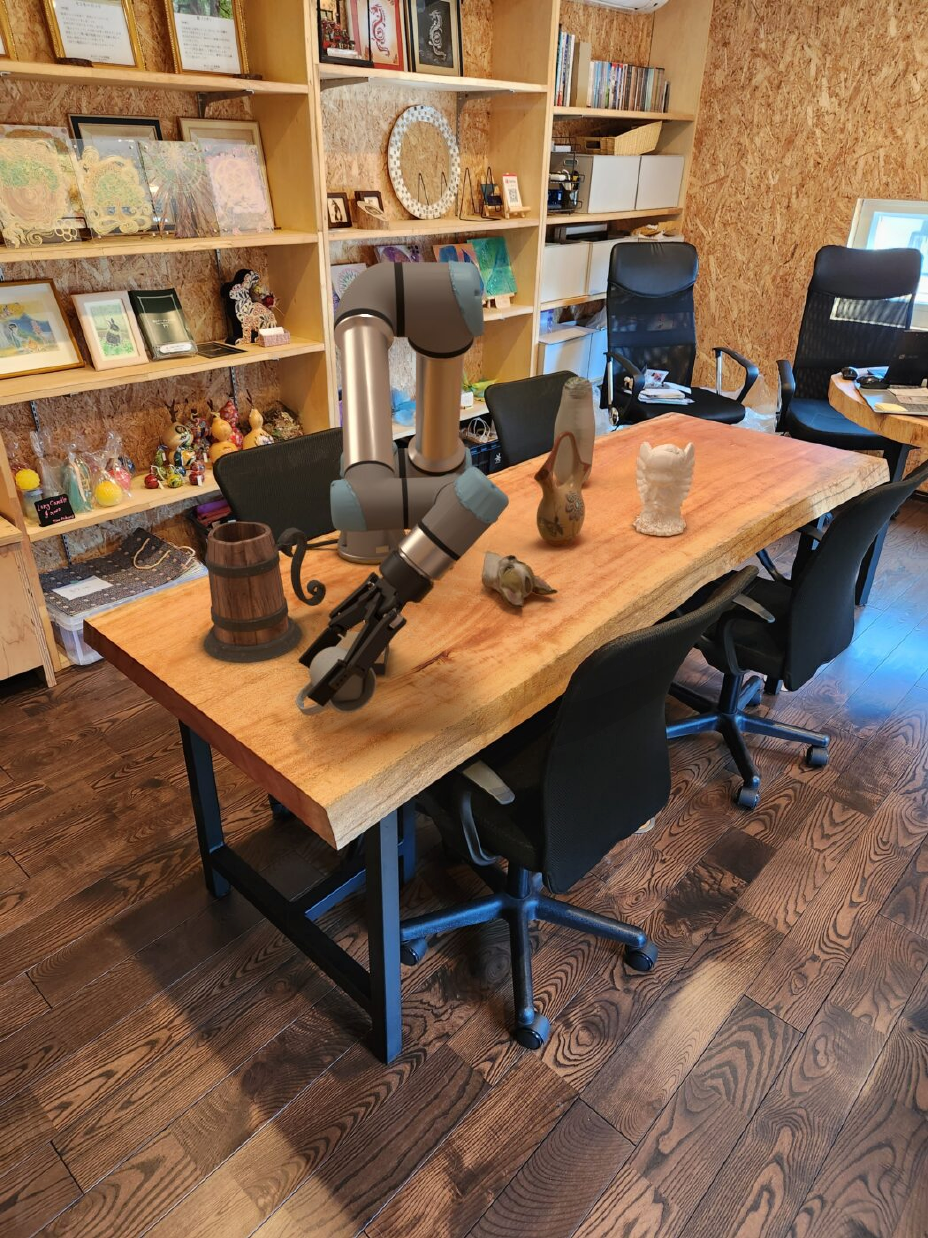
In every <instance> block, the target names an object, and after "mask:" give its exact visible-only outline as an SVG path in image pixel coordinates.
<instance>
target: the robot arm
mask: <svg viewBox="0 0 928 1238" xmlns="http://www.w3.org/2000/svg"><path fill="white" fill-rule="evenodd" d="M484 317H485V316H484V308H483V296H482V287H481V281H480V273H479V270H478V268H477V267H476V266H475V264H473V263H471V262H468V261H467V262H465V261H454V260H453V259H451V260H448V261H447V262H444V261H443V262H442V261H434V262H433V261H421V262H420V261H384V262H379V263H375V264H373V265H371V266H369V267H367V268H366V269H363V271H361V272H360V273H359V274H358V275H357V276H356V277H355V278H354V279H353V280H352V281H351V282H350V283H349V285H348V286H347V287H346V289H345V290H344V292H343V294H342V296H341V297H340V299H339V302H338V304H337V306H336V309H335V312H334V317H333V341H334V344H335V346H336V347H337V349H339V350H340V377H341V414H342V416H341V417H342V418H341V419H342V450H343V451H342V453H341V455H340V471H339V476H340V477H341V479H336V480H335V479H334V480H333V481H332V482H331V483H330V492H329V494H330V496H329V498H330V513H331V521H332V525H333V527H334V528H335V529H336V530H337V531H339V536H338V538H333V539H328V540H322V541H318V542H313V543H312V542H311V543H307V549H315V548H316V549H317V548H321V547H324V546H325V547H326V546H330V545H331V546H332V545H336V544H337V553H338V556H339V557H340V558H341V559H344V560H346V561H348V562H350V563H356V564H363V565H377V564H378V565H379V566H378V571H379V573H380V575H381V576H380V575H379V574H377V573H376V572H375V571H372V572H370V574H369V575H368V576H367V577H366V579H365V580H364V581H363V582H362V583H361V584H360V585H359V586H357V588H355V590H353V591H352V592H351V593H350V594H349V595H348V596H347V597H346V598H344V599H343V600H342V601H341V602H340V603H339V604H338V605H337V606H335V607H334V608H333V609H332V610H331V611H330V612H329V613H328V618H329V619H330V620H329V621H328V623H327V627H325V629H324V630H323V631H322V632H321V633H320V635H319V636H318V637H317V638H316V639H315V640H314V641H312V643H311V644H310V646H309V647H307V649H306V650H305V651H304V652H303V653H302V654H301V655H300V657H299V658H298V659H297V660H298V663H300V664H301V665H302V666H304V667H305V668H307V669H310V665H311V662H312V660H313V659H314V657H315V656H316V655H317V654H318V653H319V652H320V651H322V650H324V649H326V648H329V647H336V645H337V644H338V643H339V642H340V641H341V640H342V638H341V637H340V636H339V635H338V634H340V635H341V636H343V637H346V634H347V632H349V631H350V630H351V629H353V628H354V627H355V626H357V625H359V624H361V623H362V622H364V624H363V626H362V627H361V629H360V631H358V632H359V634H358V636H357V637H356V639H355V641H354V642H353V644H352V646H351V647H350V649H349V651H348V653H347V654H346V656H345V658H344V659H343V660H341V659H338V660H337V662H336V664H335V665H334V666H333V667H332V668H331V669H330V670H329V671H328V672H327V673H326V674H325V676H324V677H323V678H322V679H321V680H320V681H319V682H318V683H317V684H316V685H315V687H314V688H313V689H312V690H311V691H310V692H309V693H308V694H307V698H308V699H309V700H311V701H313V702H314V703H316V704H317V703H318V704H319V705H321V706H322V707H324V705H325V704H326V703H327V702H328V701H329V700H330V699H331V698H332V697H333V696H334V695H335V694H336V692H337V691H338V690H339V689H340V688H341V687H342V686H343V685H344V684H345V683H346V682H347V680H348V679H349V678H350V677H351V676H352V675H354V674H355V675H357V676H359V677H360V678H363V677H364V676H365V675H366V674H367V672H368V671H369V670H370V668H371V667H372V665H373V664H374V663H375V661H376V660H377V659H378V657H379V656H380V655H381V653H382V652H383V651H384V649H385V648H386V646H387V645H388V644H390V643H391V641H392V640H393V638H395V636H396V634H398V632H400V630H402V629H403V628H404V627H405V626H406V624H407V622H408V619H407V618H405V617H404V616H403V615H402V611H403V610H404V608H405V606H406V605H407V603H410V602H411V603H413V604H420V603H421V602H422V601H423V600H424V599H425V598H426V597H427V596H428V594H429V593H430V592H431V591H432V590H433V589H434V588H435V582H440V581H441V580H442V579H443V578H444V577H445V575H446V574H447V573H448V572H449V571H452V570H453V569H454V568H455V567H454V566H455V565H456V564H457V562H458V561H460V559H461V558H462V557H463V556H464V555H465V554H466V553H467V552H468V551H469V550H470V548H471V547H472V546H473V545H474V544H476V542H477V541H478V540H479V539H480V538H481V537H482V535H483V534H484V533H486V531H487V530H489V528H490V527H491V526H493V524H495V523H496V522H498V520H499V517H500V516H501V515H502V514H503V512H504V511H505V509H507V507H508V506H509V503H510V499H509V496H508V495H507V494H506V493H505V492H504V491H503V490H502V489H501V488H500V487H498V485H496V483H494V482H493V481H492V480H491V479H490V478H489V477H488V476H487V475H486V474H485V473H483V471H482V470H480V469H479V468H478V467H476V466H473V460H472V459H473V458H472V453H471V450H470V448H469V447H467V446H466V445H465V444H464V442H463V440H462V439H461V438H460V425H461V424H460V421H461V409H462V393H463V392H462V391H463V378H464V377H463V376H464V363H465V362H464V360H465V355H466V354H467V353H468V352H469V351H470V350H471V349H472V347H473V345H474V342H475V341H474V340H475V338H479V337H481V336H484V334H485V320H484ZM395 338H406V340H407V343H408V345H409V347H410V348H411V349H412V350H413V352H415V435H414V436H413V437H412V438H411V439H410V441H409V443H408V446H407V447H406V448H405V447H404V448H398V445H397V444H396V442H395V441H394V435H393V416H392V399H391V380H390V379H391V377H390V361H389V359H390V358H389V350H390V349H391V347H392V346H393V343H394V339H395ZM406 530H408V531H409V532H408V533H406Z"/></svg>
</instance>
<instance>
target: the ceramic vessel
mask: <svg viewBox="0 0 928 1238" xmlns="http://www.w3.org/2000/svg"><path fill="white" fill-rule="evenodd" d="M566 436H568V437H569V438H570V441H571V446H572V455H573V459H572V469H571V473H570V476H569V478H568V480H567V481H566V482H565V483H564V484H561V485H559V486H557V485H556V483H555V480H554V465H555V460H556V456H557V452H558V448H559V445H560V442H561V440H562V439H563V438H564V437H566ZM590 467H591V465H590V464H588V463H585V462H582V461H581V458H580V456H579V452H578V448H577V443H576V439H575V436H574V434H573V433H572V432H570V431H564V432H562V433H561V434H560V435H559V436H558V437H557V438H556V441H555V443H554V442H553V446H552V449H551V451H550V452H549V454H548V456H547V458H546V459H545V461H544V463H543V464H542V466H541V467H540V468H539V469H538V471H537V472H536V473H535V474H534V476H533V479H534V481H535V482H536V483H537V484H538V486H540V488H541V491H542V498H541V500H540V501H539V503H538V507H537V511H536V527H537V530H538V533H539V535H540V537H541V538H542V539H543V541H545V542H546V543H547V544H549V545H551V546H554V547H555V546H556V547H561V546H566V545H567V544H569V543H571V542H572V541H573V540H574V539H575V538H576V537H577V536H578V535H579V533H580V532H581V530H582V528H583V525H584V521H585V518H586V506H585V500H584V497H583V494H582V488H583V487H582V485H583V484H582V481H583V478H584V476H585V474H586V473H587V471H588V470H589V468H590Z"/></svg>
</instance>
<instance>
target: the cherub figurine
mask: <svg viewBox="0 0 928 1238" xmlns="http://www.w3.org/2000/svg"><path fill="white" fill-rule="evenodd" d="M695 449H696V448H695V445H694V443H693V441H692V442H691V441H690V442H689V443H687V444H686V446H685V448H684V449H683V448H680V447H678V446H676V445H675V444H673V443H665V444H660V445H656V446H655V447H653V448H652V446H651V444H650V443H649V442H648V441H643V442H642V443H641V444H640V446H639V449H638V456H637V458H636V463H635V464H636V470H635V478H636V480H635V483H636V486H637V492H638V494H639V495H638V497H639V500H640V501H641V511H640V513H639V515H636V516H635V518H636V519H635V520H636V521H634V522H633V523H632V526H634V528H636V531H637V532H639V533H642V534H645V535H650V536H657V537H663V536H665V537H670V536H674V535H679V534H682V533H684V529H685V528H686V527H687V526H686V525H687V524H686V520H685V519H684V516H683V515H682V509H681V507H683V502H684V500H687V498H688V497H689V494H688V493H689V492H690V491H691V488H692V487H691V484H692V482H693V477H692V476H693V475H694V467H695V465H696V459H695V452H696V450H695Z"/></svg>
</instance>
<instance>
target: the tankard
mask: <svg viewBox="0 0 928 1238" xmlns="http://www.w3.org/2000/svg"><path fill="white" fill-rule="evenodd" d="M295 536H296V537H297V539H296V540H297V541H296V547H295V550H294V553H293V542H292V539H293V538H294V537H295ZM307 544H308V538H307V535H306V533H305V532H304V531H302V530H300V529H298V528H296V527H289V528H286V529H285V530H284V531H283V532H282V533H281V534H280V536H279V538H278V539H277V544H276V542H275V539H274V536H273V533H272V529H271V528H270V526H269V525H267V524H265V523H262V522H258V521H257V522H254V521H252V522H251V521H249V522H248V521H228V522H224V523H221V524H219V525H217V526H214V527H213V528H212V529H211V530H210V532H209V533H208V534H207V548H206V553H205V555H204V556H205V557H204V558H205V567H206V570H207V572H208V573H207V574H208V584H209V591H210V592H209V593H210V602H211V606H210V617H211V621H212V623H213V625H212V626H211V628H210V629H209V631H208V634H207V635H206V636H205V638H204V640H203V648H204V650H205V652H206V653H207V654H208V655H210V656H211V657H213V658H214V659H217V660H220V661H224V662H230V663H241V664H243V663H255V662H261V661H267V660H271V659H274V658H277V657H280V656H282V655H284V654H286V653H288V652H290V651H292V650H293V649H294V648H295V647H296V646H298V645H299V643H300V642H301V640H302V638H303V630H302V628H301V627H300V625H299V624H297V623H296V622H295V621H294V620H293V618H292V617H290V616H289V615H288V613H289V605H288V600H287V598H286V596H285V593H284V585H283V579H282V573H281V566H280V560H281V557H280V552H281V553H282V554H283V555H285V556H287V557H288V558H291V563H290V583H291V586H292V587H291V588H292V590H293V592H294V595H295V596H296V597H297V599H298V600H299V601H300V602H302V603H304V604H305V605H306V606H308V607H317V606H319V605H320V604H322V602H323V601H324V599H325V598H326V594H327V588H326V585H325V584H324V583H323V582H321V581H319V580H318V579H311V580H309V581H308V582H307V584H306V591H307V593H308V594H309V595H311V596H312V597H310V598H307V596H306V595H305V593H304V590H303V587H302V581H301V572H302V566H303V562H304V559H305V556H306V553H307V549H308V548H307ZM279 551H280V552H279Z"/></svg>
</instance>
